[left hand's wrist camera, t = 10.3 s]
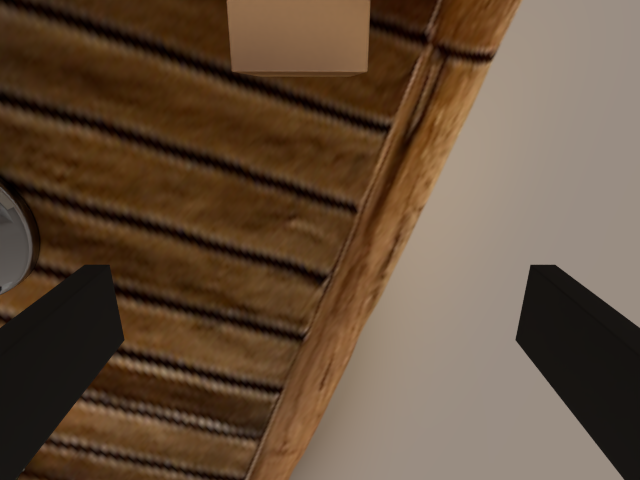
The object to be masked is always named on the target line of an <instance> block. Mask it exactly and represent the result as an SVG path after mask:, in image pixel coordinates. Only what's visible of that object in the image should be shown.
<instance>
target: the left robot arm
mask: <svg viewBox="0 0 640 480" xmlns="http://www.w3.org/2000/svg"><path fill="white" fill-rule="evenodd" d="M39 248H40V243H39V233H38V229H37V226H36V223H35V220H34V218H33V216H32V214H31V212H30V210H29V208H28V207H27V205H26V204H25V202H24V201H23V199H22V198H21V197H20V196H19V194H18V193H17V192H16V191H15V190H14V189H13V188H12V187H11V186H10V185H9V184H8V183H6V182H5V181H4V180H3V179H1V178H0V295H1V294H3V293H5V292H7V291H9V290H10V289H12V288H13V287H15V286H16V285H18V284H19V283H21V282H22V281H24V280H25V279H26V278H27V277H28V276H29V274H30V273H31V272H32V270H33V269H34V267H35V265H36V262H37V259H38V255H39ZM123 341H124V335H123V330H122V325H121V320H120V315H119V310H118V305H117V300H116V295H115V290H114V285H113V280H112V275H111V270H110V265H84V266H83V267H81V268H80V269H79V270H77V271H76V272H75V273H73V274H72V275H71V276H69V277H68V278H67V279H65V280H64V281H63V282H61V283H60V284H59V285H57V286H56V287H54V288H53V289H52V290H50V291H49V292H48V293H46V294H45V295H44V296H42V297H41V298H40V299H38V300H37V301H36V302H34V303H33V304H32V305H30V306H29V307H28V308H26V309H25V310H24V311H22V312H21V313H20V314H18V315H17V316H16V317H14V318H13V319H12V320H10V321H9V322H8V323H6V324H5V325H4V326H2V327H1V328H0V480H16V479H17V477H18V476H19V475H20V473H21V472H22V471H23V470H24V468H25V467H26V466H27V464H28V463H29V462H30V461H31V459H32V458H33V457H34V455H35V454H36V453H37V452H38V450H39V449H40V448H41V446H42V445H43V444H44V443H45V441H46V440H47V439H48V437H49V436H50V435H51V434H52V432H53V431H54V430H55V428H56V427H57V426H58V425H59V423H60V422H61V421H62V419H63V418H64V417H65V416H66V414H67V413H68V412H69V411H70V409H71V408H72V407H73V405H74V404H75V403H76V402H77V400H78V399H79V398H80V396H81V395H82V394H83V393H84V391H85V390H86V389H87V387H88V386H89V385H90V384H91V382H92V381H93V380H94V378H95V377H96V376H97V375H98V373H99V372H100V371H101V369H102V368H103V367H104V366H105V364H106V363H107V362H108V360H109V359H110V358H111V357H112V355H113V354H114V353H115V352H116V350H117V349H118V348H119V346H120V345H121V344H122V343H123ZM516 341H517V343H518V344H519V345H520V346H521V348H522V349H523V350H524V351H525V353H526V354H527V355H528V357H529V358H530V359H531V360H532V362H533V363H534V364H535V366H536V367H537V368H538V369H539V371H540V372H541V373H542V375H543V376H544V377H545V378H546V380H547V381H548V382H549V384H550V385H551V386H552V387H553V389H554V390H555V391H556V393H557V394H558V395H559V396H560V398H561V399H562V400H563V401H564V403H565V404H566V405H567V407H568V408H569V409H570V410H571V412H572V413H573V414H574V416H575V417H576V418H577V419H578V421H579V422H580V423H581V425H582V426H583V427H584V428H585V430H586V431H587V432H588V434H589V435H590V436H591V437H592V439H593V440H594V441H595V443H596V444H597V445H598V446H599V448H600V449H601V450H602V452H603V453H604V454H605V455H606V457H607V458H608V459H609V460H610V462H611V463H612V464H613V466H614V467H615V468H616V470H617V471H618V472H619V473H620V475H621V476H622V477H623V479H624V480H640V328H639V327H638V326H636V325H635V324H634V323H632V322H631V321H630V320H628V319H627V318H626V317H624V316H623V315H622V314H620V313H619V312H618V311H616V310H615V309H614V308H612V307H611V306H610V305H608V304H607V303H606V302H604V301H603V300H602V299H600V298H599V297H598V296H596V295H595V294H594V293H592V292H591V291H589V290H588V289H587V288H585V287H584V286H583V285H581V284H580V283H579V282H577V281H576V280H575V279H573V278H572V277H571V276H569V275H568V274H567V273H565V272H564V271H563V270H561V269H560V268H559V267H557V266H556V265H530V270H529V275H528V280H527V285H526V290H525V295H524V300H523V305H522V310H521V315H520V320H519V325H518V330H517V335H516Z"/></svg>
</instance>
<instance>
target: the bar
mask: <svg viewBox="0 0 640 480" xmlns="http://www.w3.org/2000/svg"><path fill="white" fill-rule="evenodd" d="M227 12H228V26H229V40H230V54H231V68H232V72H237V73H243V74H249V75H255V76H261V77H350V76H353V75H357V74H361V73H364V72H367V71H368V47H369V22H370V0H227Z"/></svg>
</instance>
